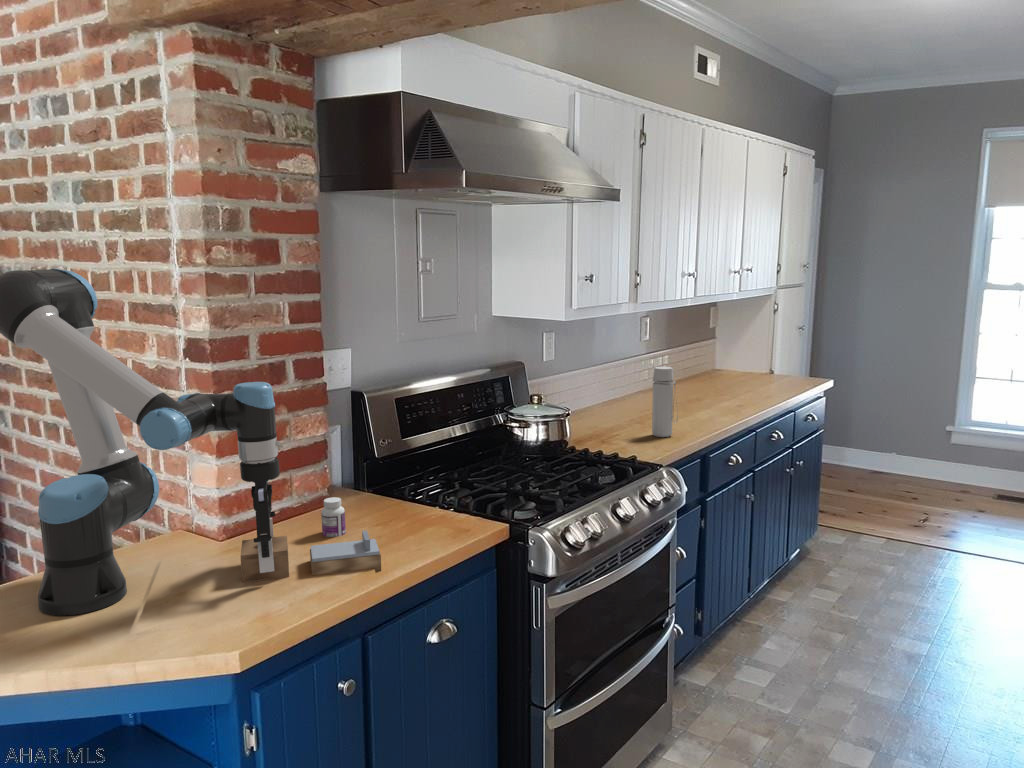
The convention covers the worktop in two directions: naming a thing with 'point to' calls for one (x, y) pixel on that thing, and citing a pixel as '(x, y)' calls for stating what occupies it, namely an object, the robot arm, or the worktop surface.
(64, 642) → the worktop surface
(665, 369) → the water bottle
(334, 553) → the sliding lid
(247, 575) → the cover
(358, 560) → the pencil box
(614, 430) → the worktop surface
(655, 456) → the worktop surface
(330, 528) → the pill bottle
